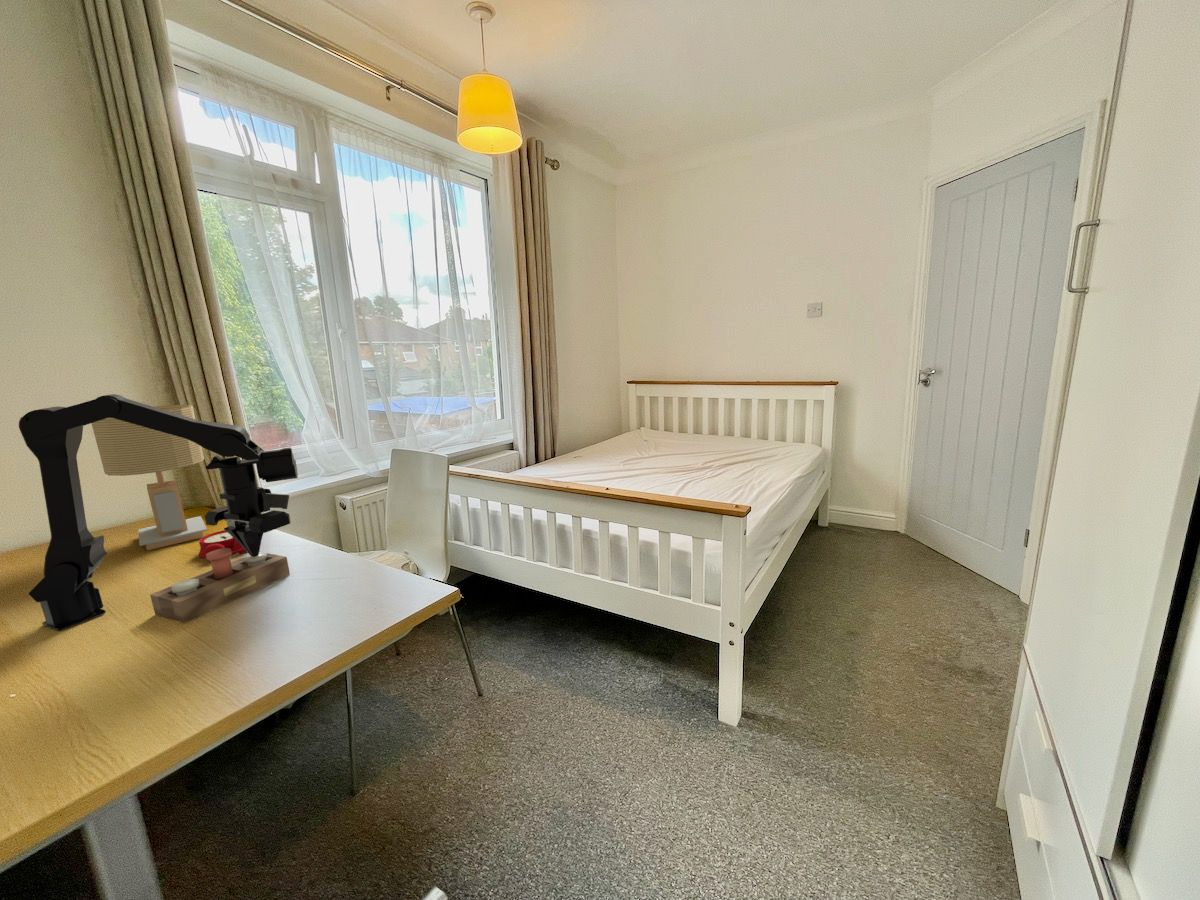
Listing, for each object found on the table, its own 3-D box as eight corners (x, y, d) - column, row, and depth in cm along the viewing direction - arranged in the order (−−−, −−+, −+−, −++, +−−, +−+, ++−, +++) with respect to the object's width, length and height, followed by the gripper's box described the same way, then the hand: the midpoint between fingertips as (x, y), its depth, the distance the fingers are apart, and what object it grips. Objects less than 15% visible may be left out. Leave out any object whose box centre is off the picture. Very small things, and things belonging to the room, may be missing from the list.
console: (185, 623, 86) (179, 602, 86) (155, 614, 90) (149, 594, 89) (290, 574, 105) (287, 556, 104) (262, 568, 108) (258, 551, 107)
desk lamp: (125, 538, 130) (91, 411, 123) (214, 519, 144) (189, 403, 136) (124, 559, 117) (86, 417, 109) (224, 535, 130) (196, 407, 123)
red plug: (219, 581, 94) (213, 557, 93) (206, 578, 95) (201, 555, 94) (240, 572, 97) (235, 549, 96) (228, 569, 99) (223, 547, 98)
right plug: (256, 582, 100) (251, 560, 99) (244, 580, 102) (239, 558, 101) (275, 574, 104) (270, 552, 103) (262, 572, 106) (258, 550, 104)
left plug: (185, 615, 89) (179, 590, 88) (172, 611, 90) (166, 587, 89) (209, 604, 92) (203, 580, 91) (196, 601, 94) (190, 577, 93)
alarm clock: (241, 525, 127) (254, 525, 117) (247, 548, 127) (260, 549, 117) (191, 537, 119) (200, 538, 109) (197, 561, 120) (207, 564, 110)
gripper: (307, 478, 103) (319, 546, 106) (251, 473, 109) (263, 537, 113) (254, 493, 92) (269, 567, 96) (196, 487, 99) (211, 556, 103)
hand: (254, 555), depth 102 cm, fingers closed, pressing on right plug
